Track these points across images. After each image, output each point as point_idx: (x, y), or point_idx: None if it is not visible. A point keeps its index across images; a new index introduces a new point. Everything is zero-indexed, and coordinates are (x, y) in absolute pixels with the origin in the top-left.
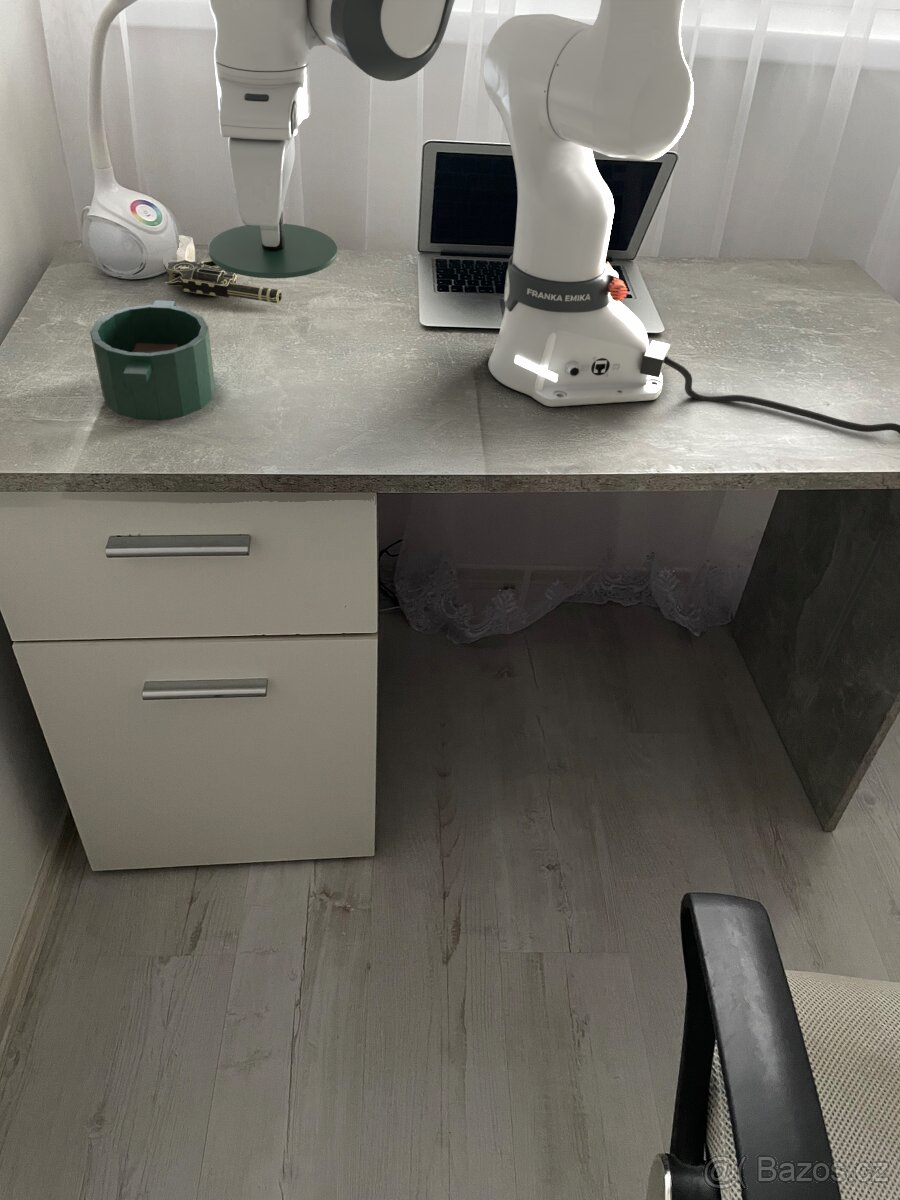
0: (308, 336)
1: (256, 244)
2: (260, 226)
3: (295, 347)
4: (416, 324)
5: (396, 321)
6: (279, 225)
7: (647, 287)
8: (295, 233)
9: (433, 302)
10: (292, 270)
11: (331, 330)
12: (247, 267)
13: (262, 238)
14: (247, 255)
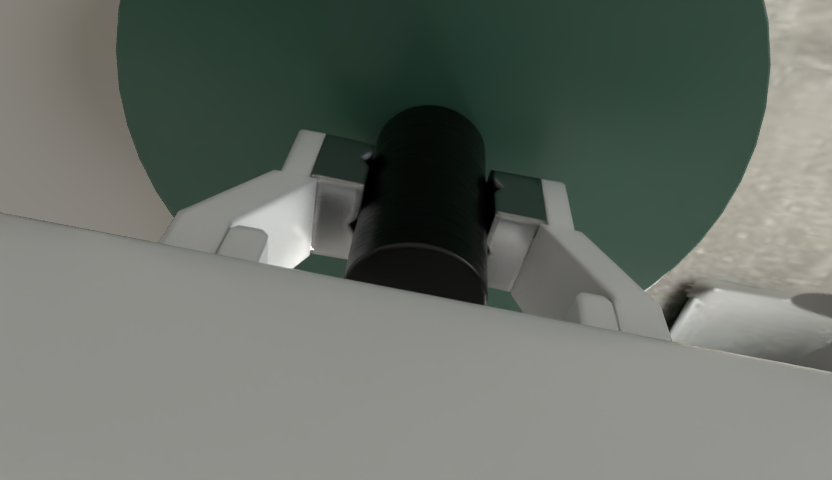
0: (773, 54)
1: (473, 81)
2: (251, 180)
3: None
4: (716, 275)
5: (749, 247)
6: (346, 258)
7: None
8: None
9: (795, 320)
10: (171, 191)
11: (777, 114)
12: (168, 3)
13: (293, 145)
14: (325, 19)
